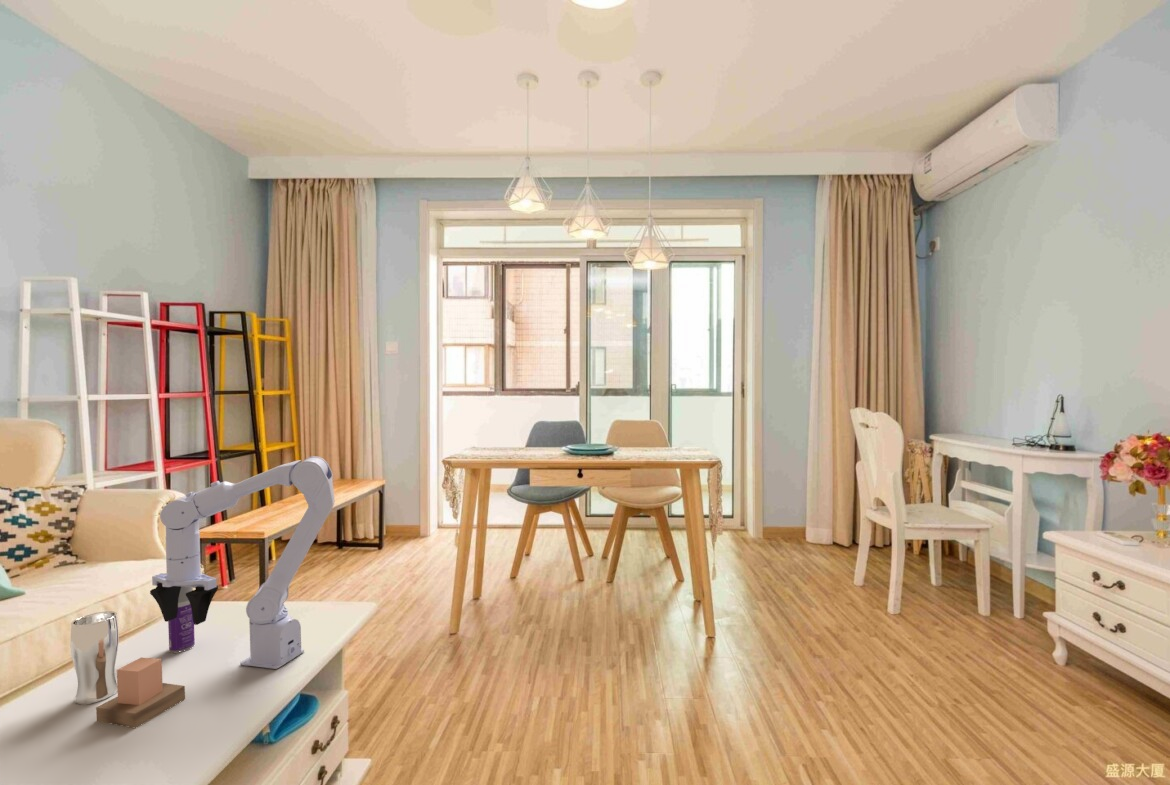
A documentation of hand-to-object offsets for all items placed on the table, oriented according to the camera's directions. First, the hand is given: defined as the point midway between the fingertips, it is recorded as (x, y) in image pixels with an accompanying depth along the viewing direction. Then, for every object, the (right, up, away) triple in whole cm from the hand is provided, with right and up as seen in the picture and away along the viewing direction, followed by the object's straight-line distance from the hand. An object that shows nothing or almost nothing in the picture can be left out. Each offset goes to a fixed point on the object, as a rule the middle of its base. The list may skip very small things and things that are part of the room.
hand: (185, 621), depth 115 cm
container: (-8, -11, +11) cm, 17 cm away
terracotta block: (+2, -8, -14) cm, 16 cm away
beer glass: (-11, -11, -9) cm, 18 cm away
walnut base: (+2, -11, -14) cm, 18 cm away
